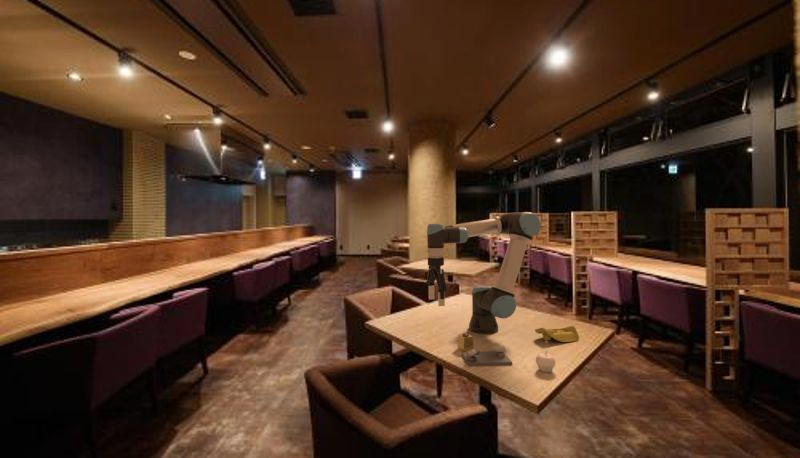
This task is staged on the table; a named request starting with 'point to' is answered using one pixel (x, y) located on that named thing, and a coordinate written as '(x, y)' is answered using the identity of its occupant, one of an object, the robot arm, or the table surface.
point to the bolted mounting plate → (490, 357)
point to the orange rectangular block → (465, 342)
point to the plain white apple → (545, 362)
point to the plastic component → (559, 334)
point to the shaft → (472, 355)
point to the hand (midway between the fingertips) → (436, 302)
